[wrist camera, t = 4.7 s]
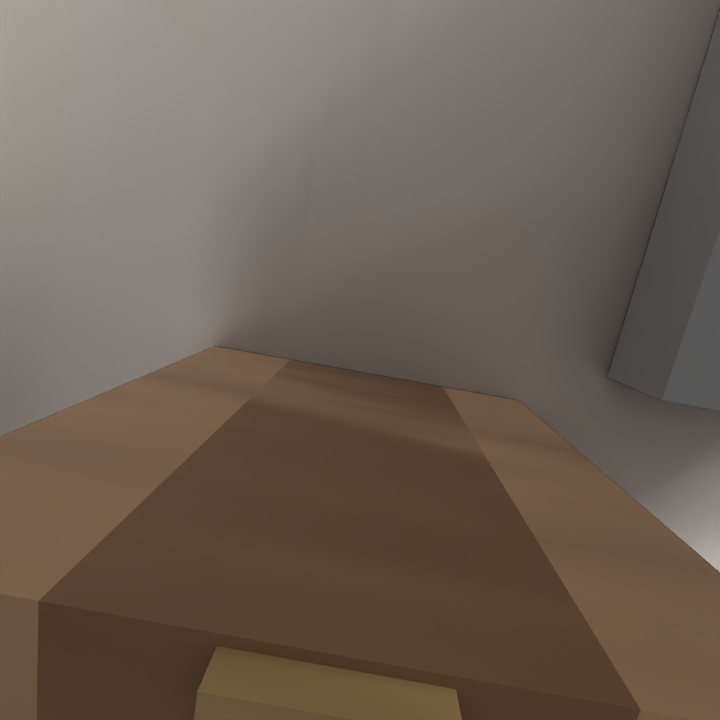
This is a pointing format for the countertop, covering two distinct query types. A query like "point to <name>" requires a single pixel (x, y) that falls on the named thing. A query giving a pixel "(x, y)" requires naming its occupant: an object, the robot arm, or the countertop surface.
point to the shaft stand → (682, 268)
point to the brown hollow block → (335, 559)
